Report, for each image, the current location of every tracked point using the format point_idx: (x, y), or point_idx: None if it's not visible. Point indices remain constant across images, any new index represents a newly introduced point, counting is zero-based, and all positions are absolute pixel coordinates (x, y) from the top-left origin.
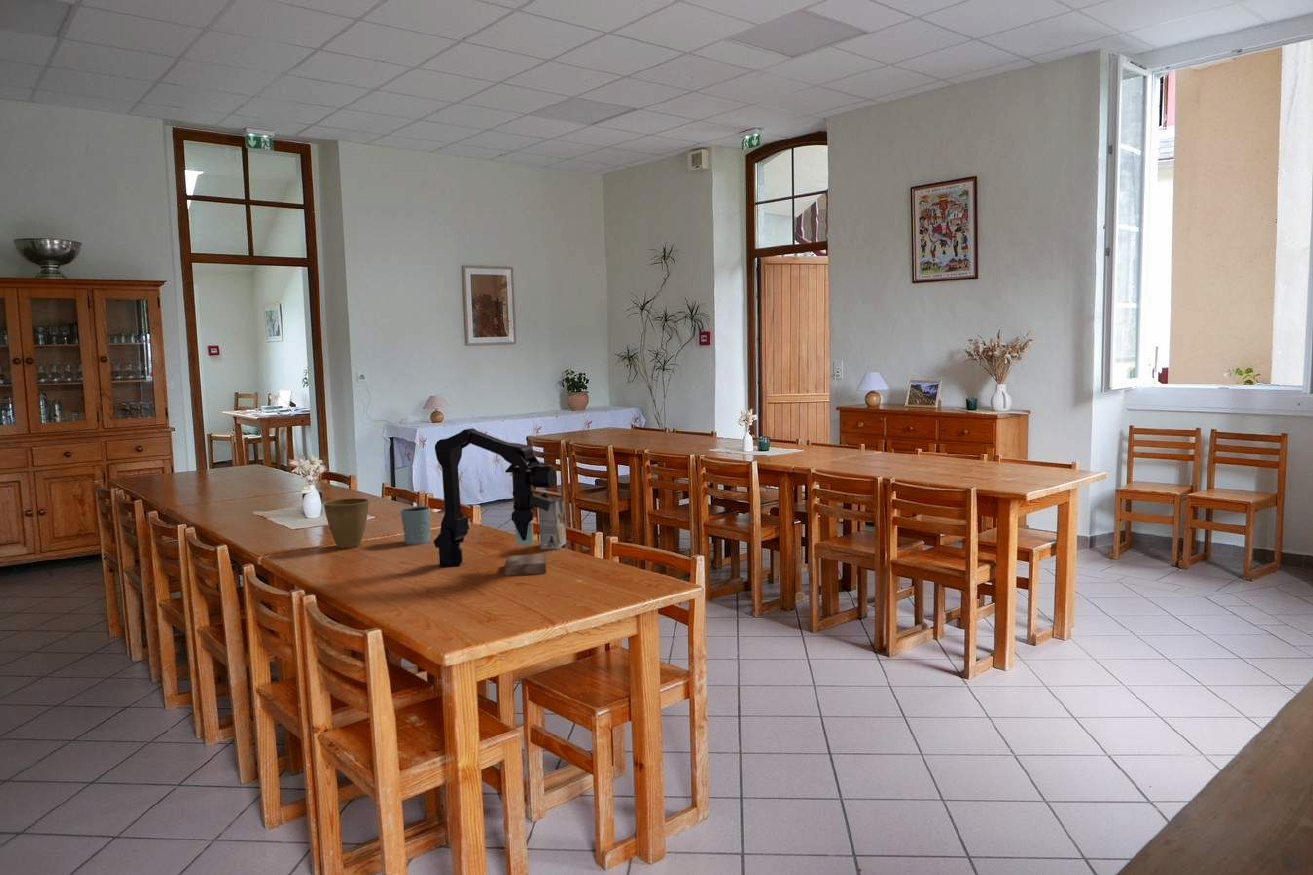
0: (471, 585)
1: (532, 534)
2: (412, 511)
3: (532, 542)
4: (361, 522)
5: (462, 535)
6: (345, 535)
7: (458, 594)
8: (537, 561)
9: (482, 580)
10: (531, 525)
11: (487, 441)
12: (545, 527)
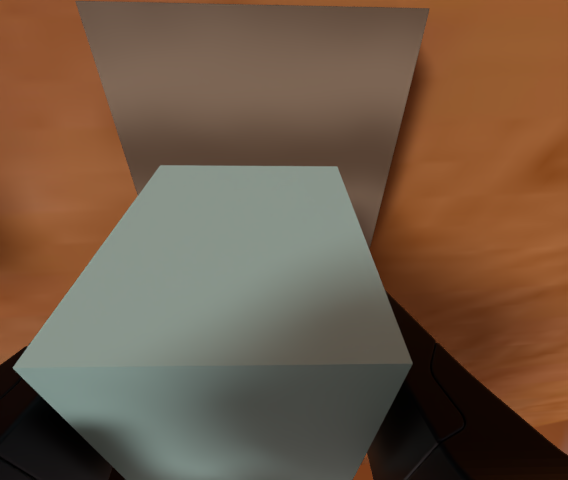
0: (444, 316)
1: (359, 230)
2: None
3: (340, 180)
4: None
5: (113, 472)
6: None
7: (528, 334)
8: (343, 85)
9: (395, 296)
10: (402, 360)
11: None
12: None
